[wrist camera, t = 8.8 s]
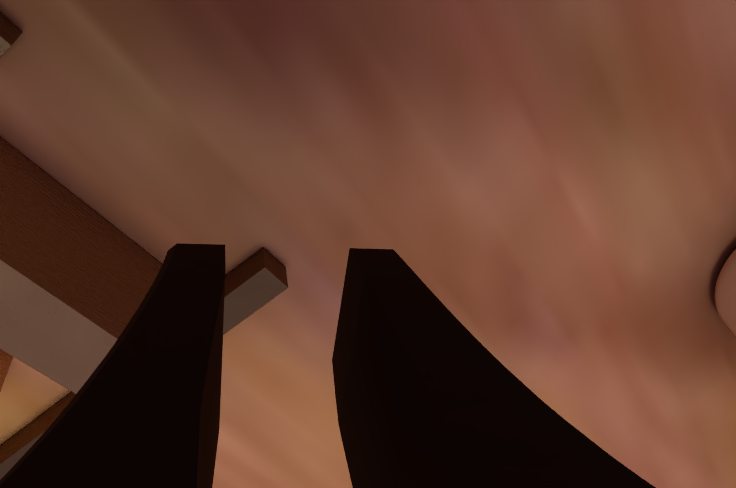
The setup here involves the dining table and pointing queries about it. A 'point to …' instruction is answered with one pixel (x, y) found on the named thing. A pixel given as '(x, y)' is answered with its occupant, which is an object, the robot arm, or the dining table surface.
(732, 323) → the drinking glass
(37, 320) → the block
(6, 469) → the vise bed
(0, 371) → the block
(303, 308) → the dining table surface
